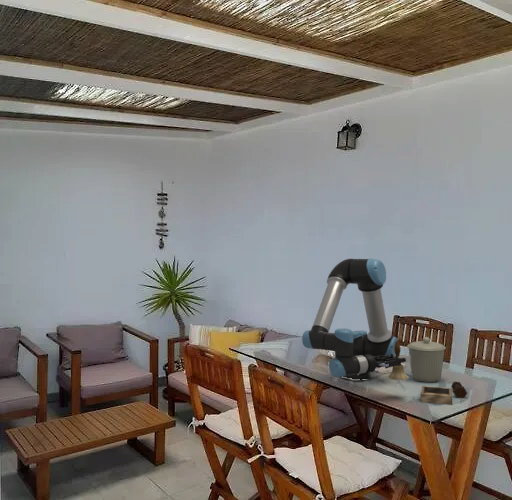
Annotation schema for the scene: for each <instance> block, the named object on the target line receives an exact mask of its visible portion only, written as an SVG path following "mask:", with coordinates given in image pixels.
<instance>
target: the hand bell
mask: <svg viewBox="0 0 512 500" xmlns="http://www.w3.org/2000/svg"><path fill="white" fill-rule="evenodd" d="M394 350H395V354H396V355H395V356H396V358H397V357H399V355H401V344H400V342H399V340H397V341H396V343H395V346H394ZM388 378H389V379H391V380H395V381H396V380H397V381H405V380H408V379H409V376H408V375H407V374H406V372H405V369H404V365H403V363H401V365H398V366H393V367H392V369H391V372H390V374H389V375H388Z"/></svg>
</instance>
